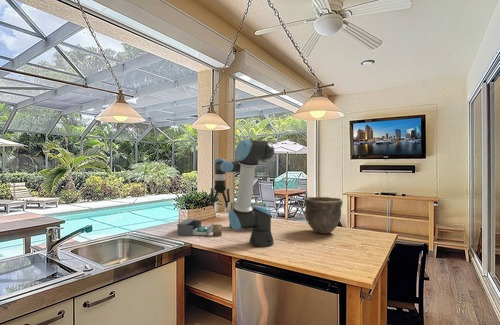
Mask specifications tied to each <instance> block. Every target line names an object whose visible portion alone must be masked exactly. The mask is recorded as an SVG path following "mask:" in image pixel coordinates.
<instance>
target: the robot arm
mask: <svg viewBox="0 0 500 325" xmlns="http://www.w3.org/2000/svg"><path fill="white" fill-rule="evenodd" d="M235 148H236V149H235V154H234V155H235V159H236V160H237V161H230V160H229V161H228V160H226V159H225V158H216V159H214V180H215V181H214V187H211V188H210V200H209V201H210V203H212V208H213V212H214V213H216V212H217V202H216V200H217V197H218V195H219V194H222V197H223V199H224V204H223V208H224V209H223V212H224V213H226V212H227V208H228V205H229V204H228V203H230V202H231V198H230V188H228V187H226V174H227V173H239V178H238V187H237V194H236V200H237V201H235V202H236V204H235V205H234V206H233V210H231V209H230V210H229V212H228V221H229V223H230V225H231V227H232V228H231V227H230V228H231V229H233V230H235V231H237V230H239V231H241V230H247V229H248V228H252V230H251V234H250V237H249V240H248V241H249V245H250V246H252V247H257V248H258V247H259V248H265V247H266V248H268V247H271V246H273V245H274V243H275V242H274V238H273V237H274V236H273V234H272V227H271V226H272V225H271V224H272V210H271V208H269V206H268V207H263V206H252V207H251V202H252V200H251V199H253V198H252V197H253V190H254V189H253V188H254V182H255V175H256V174H255V173H256V167H257V166H259V164H262V163H266V162H269V161H270V160H272V159H273V157H274V156H275V148H274V146H273V144H272V143H271V142H269V141H267V140H256V139H242V140H240V141H239V142H238V143H237V145H236V147H235ZM214 191H215V193H214ZM225 191H226V192H225Z"/></svg>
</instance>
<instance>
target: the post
mask: <svg viewBox="0 0 500 325" xmlns="http://www.w3.org/2000/svg"><path fill="white" fill-rule="evenodd" d="M222 226H223V225H222V224H217V223H216V224H214V225H213V231H212V237H215V238H216V237H217V238H218V237H222V234H223V233H222V232H223V229H222V228H223V227H222Z"/></svg>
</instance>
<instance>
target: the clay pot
mask: <svg viewBox="0 0 500 325" xmlns="http://www.w3.org/2000/svg"><path fill="white" fill-rule="evenodd" d="M304 204H305V211H304V214H305V215H304V216H305V219H306V222H307V224H308V225H309V227H310V228H311V229H312V230H313V231H314V232H315V233H319V234H322V235H326V234H330V233H331V232H333V231H335V229H336V228H337V226H338V224H339V223H340V221H341V218H342V206H343V199H341V198H339V197H338V198H337V197H329V196H325V197H324V196H307V197H305V199H304Z"/></svg>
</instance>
